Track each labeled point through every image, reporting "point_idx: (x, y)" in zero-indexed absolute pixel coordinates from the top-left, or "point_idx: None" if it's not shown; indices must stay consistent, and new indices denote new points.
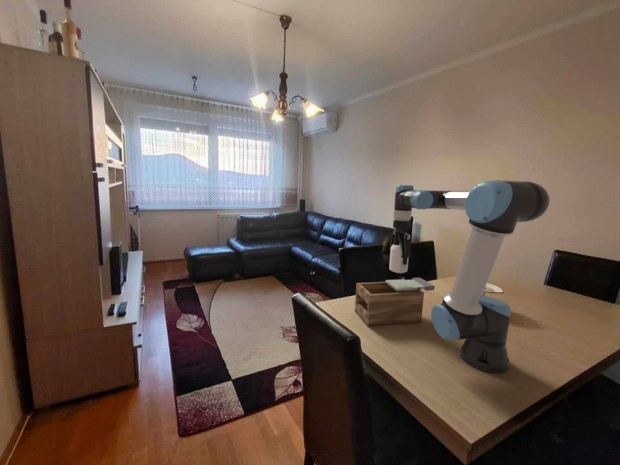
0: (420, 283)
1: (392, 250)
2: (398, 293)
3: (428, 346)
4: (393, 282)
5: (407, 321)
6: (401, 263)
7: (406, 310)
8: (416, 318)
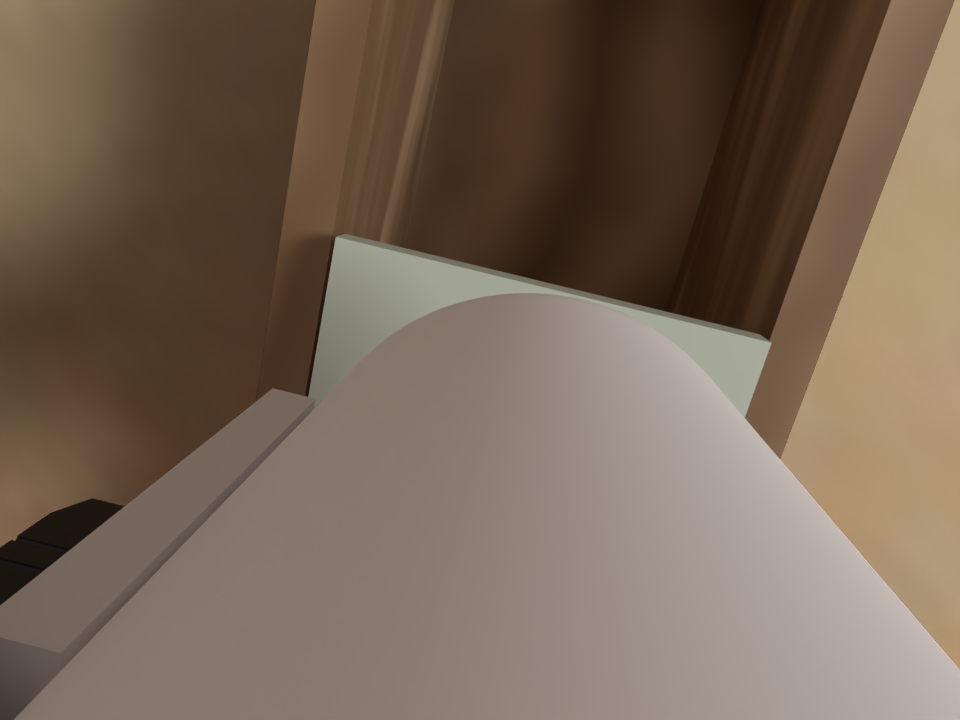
0: None
1: (561, 703)
2: (298, 209)
3: (23, 181)
4: None
5: None
6: (158, 487)
7: None
8: None
